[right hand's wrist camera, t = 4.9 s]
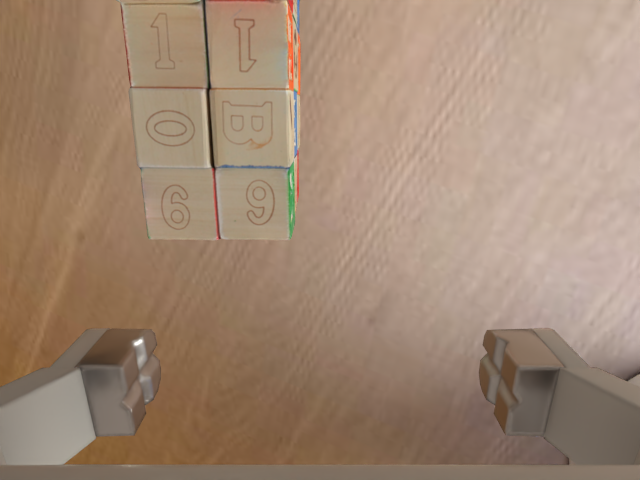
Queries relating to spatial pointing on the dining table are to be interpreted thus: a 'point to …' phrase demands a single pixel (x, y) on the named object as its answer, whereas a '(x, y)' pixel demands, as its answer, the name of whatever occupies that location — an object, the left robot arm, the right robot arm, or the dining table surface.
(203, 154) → the stack of blocks
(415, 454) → the dining table surface
